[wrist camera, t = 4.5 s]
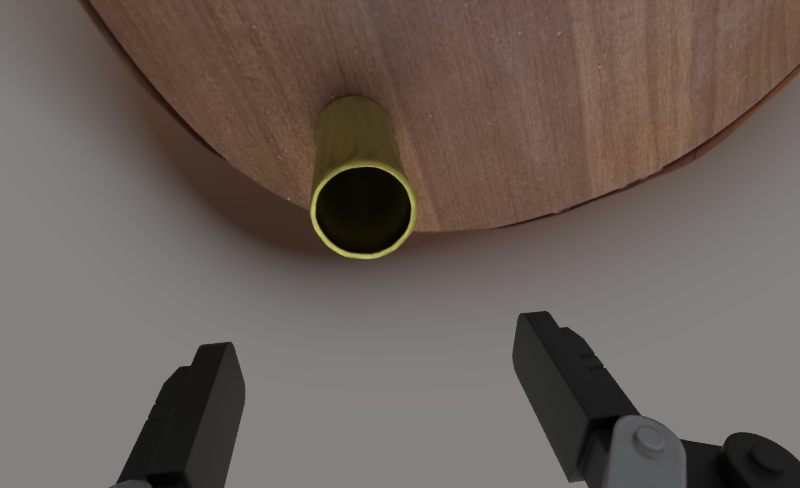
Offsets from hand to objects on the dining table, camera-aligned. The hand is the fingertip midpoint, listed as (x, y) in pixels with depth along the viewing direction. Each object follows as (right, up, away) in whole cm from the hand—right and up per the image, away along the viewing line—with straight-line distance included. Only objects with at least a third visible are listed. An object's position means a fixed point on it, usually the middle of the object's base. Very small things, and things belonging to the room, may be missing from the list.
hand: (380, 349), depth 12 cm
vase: (-3, +11, +21) cm, 24 cm away
